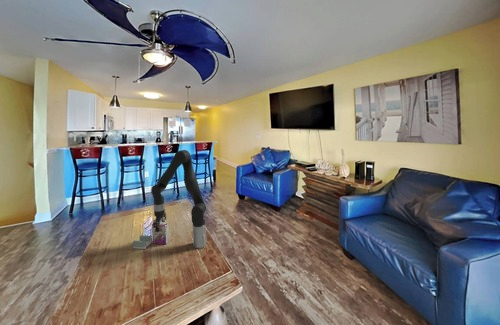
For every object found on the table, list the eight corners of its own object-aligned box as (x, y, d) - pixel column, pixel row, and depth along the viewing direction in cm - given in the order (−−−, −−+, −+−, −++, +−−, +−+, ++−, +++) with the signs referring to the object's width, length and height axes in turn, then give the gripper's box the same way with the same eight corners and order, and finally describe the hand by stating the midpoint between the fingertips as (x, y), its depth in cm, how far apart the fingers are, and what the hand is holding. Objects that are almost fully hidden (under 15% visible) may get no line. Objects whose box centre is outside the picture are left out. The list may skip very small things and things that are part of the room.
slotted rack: (141, 241, 150) (140, 235, 150) (152, 242, 150) (151, 235, 149) (133, 248, 141) (132, 241, 140) (144, 248, 141) (144, 242, 140)
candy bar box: (152, 243, 147) (151, 224, 145) (156, 240, 152) (155, 221, 150) (166, 245, 146) (165, 225, 144) (169, 241, 151) (168, 222, 149)
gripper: (159, 213, 138) (160, 233, 140) (168, 205, 152) (169, 224, 154) (149, 212, 138) (150, 233, 141) (159, 205, 152) (160, 224, 155)
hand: (160, 228), depth 147 cm, fingers open, 8 cm apart
